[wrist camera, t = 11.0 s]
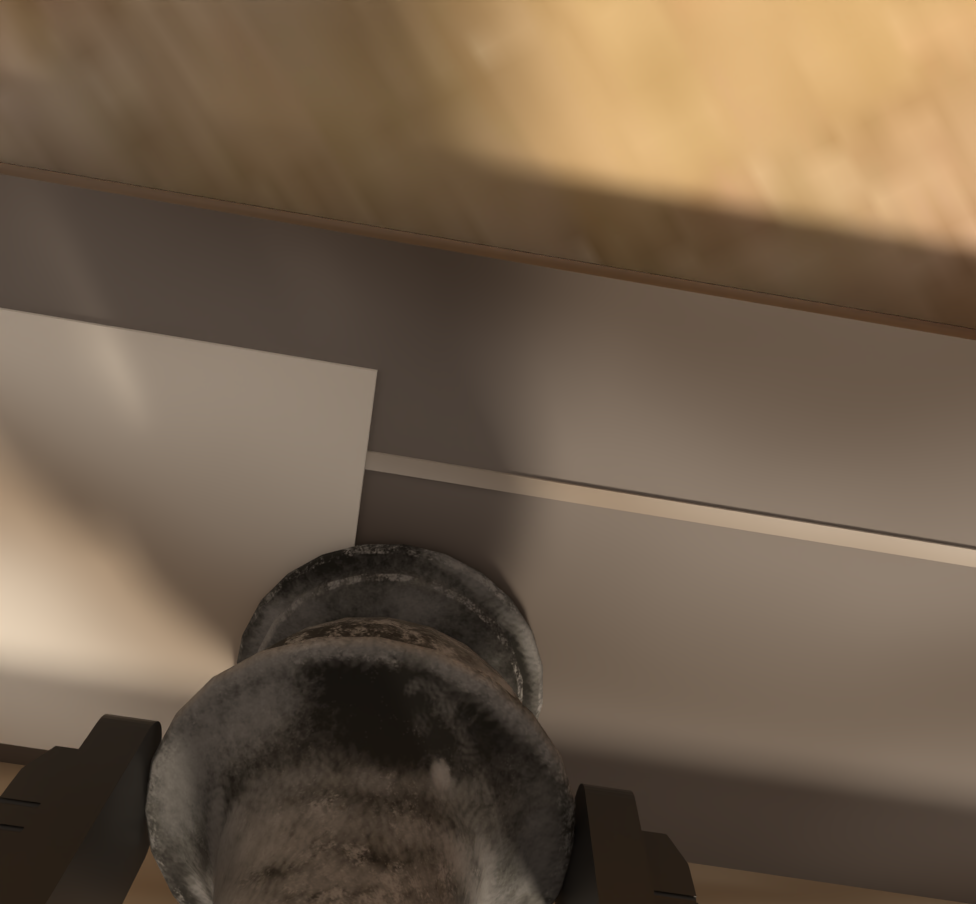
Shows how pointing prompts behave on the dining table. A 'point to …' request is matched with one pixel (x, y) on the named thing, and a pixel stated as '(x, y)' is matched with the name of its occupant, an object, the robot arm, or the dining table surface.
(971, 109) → the dining table surface
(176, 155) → the dining table surface
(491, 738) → the dark stone finial
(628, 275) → the board
